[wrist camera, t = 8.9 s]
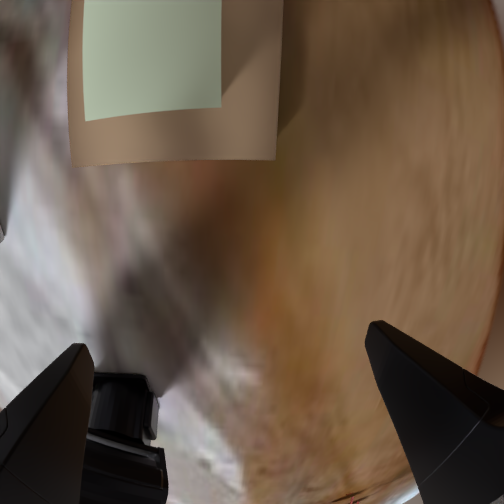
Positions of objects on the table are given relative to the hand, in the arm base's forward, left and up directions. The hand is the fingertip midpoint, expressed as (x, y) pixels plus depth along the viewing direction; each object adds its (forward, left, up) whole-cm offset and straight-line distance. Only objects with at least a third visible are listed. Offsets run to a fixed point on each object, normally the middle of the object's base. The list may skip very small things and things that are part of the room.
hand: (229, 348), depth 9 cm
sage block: (-2, +9, -10) cm, 13 cm away
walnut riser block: (-2, +9, -13) cm, 16 cm away
